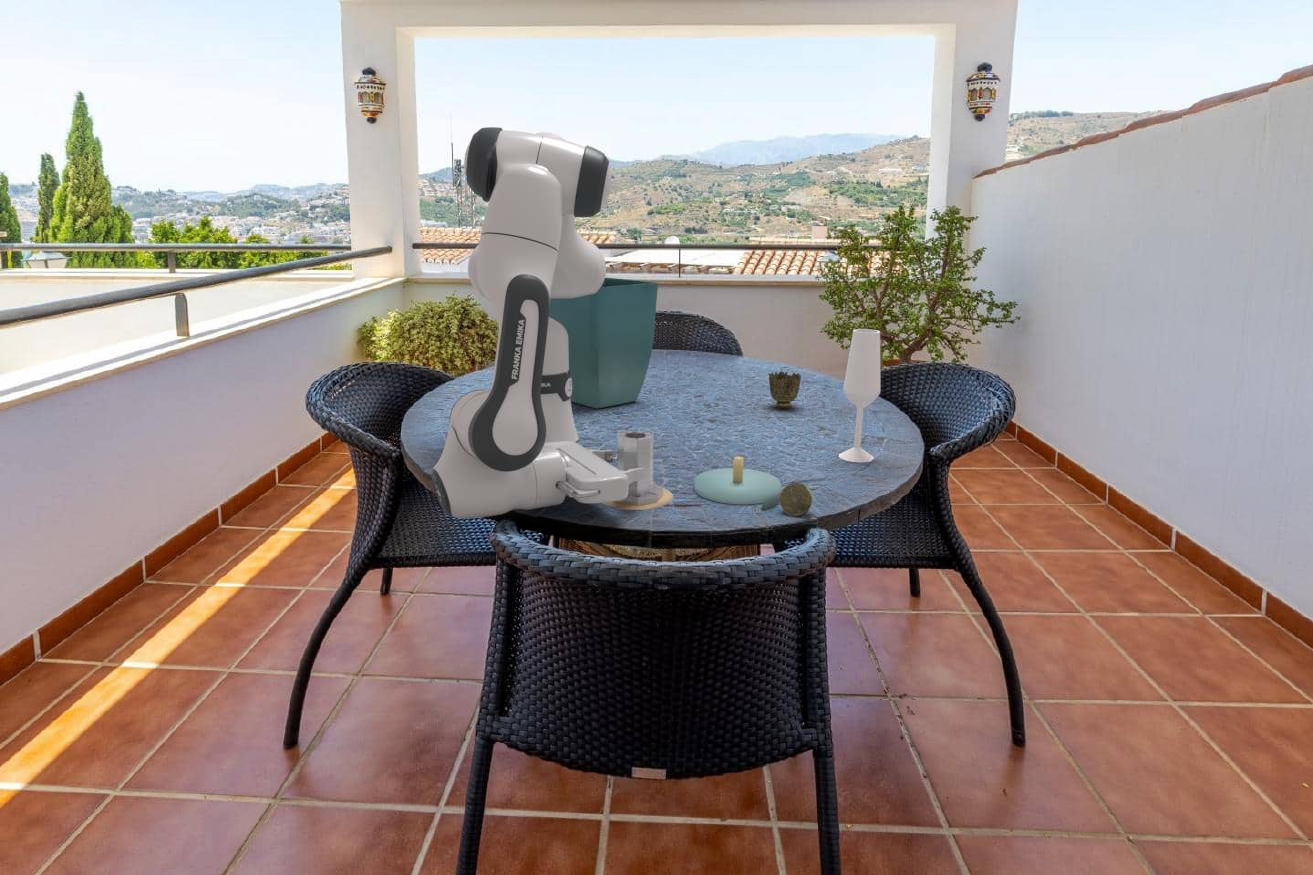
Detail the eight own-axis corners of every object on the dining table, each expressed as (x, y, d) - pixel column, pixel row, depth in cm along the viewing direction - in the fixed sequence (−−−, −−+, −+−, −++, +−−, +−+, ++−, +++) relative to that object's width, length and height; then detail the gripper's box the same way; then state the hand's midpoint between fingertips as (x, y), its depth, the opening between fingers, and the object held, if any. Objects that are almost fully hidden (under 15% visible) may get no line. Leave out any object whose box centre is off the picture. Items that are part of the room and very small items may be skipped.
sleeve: (602, 501, 129) (602, 440, 126) (618, 485, 136) (618, 426, 134) (653, 507, 127) (654, 444, 124) (666, 490, 134) (667, 430, 132)
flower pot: (541, 399, 199) (537, 280, 191) (605, 388, 212) (604, 276, 204) (592, 415, 185) (591, 287, 177) (658, 402, 198) (660, 282, 190)
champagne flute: (831, 453, 159) (840, 329, 152) (860, 450, 161) (870, 327, 155) (851, 464, 153) (862, 334, 146) (881, 460, 155) (893, 332, 149)
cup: (804, 406, 195) (806, 373, 193) (791, 413, 189) (793, 378, 187) (775, 402, 199) (777, 369, 197) (762, 408, 193) (763, 374, 191)
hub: (685, 506, 131) (686, 466, 129) (704, 478, 144) (705, 442, 142) (774, 515, 127) (776, 475, 125) (785, 486, 140) (787, 449, 138)
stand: (586, 512, 128) (586, 504, 127) (611, 487, 139) (611, 480, 139) (662, 520, 125) (662, 513, 124) (680, 494, 136) (680, 487, 136)
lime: (814, 518, 126) (816, 487, 125) (783, 519, 126) (785, 488, 125) (806, 507, 131) (808, 477, 129) (776, 508, 130) (778, 478, 129)
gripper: (572, 476, 113) (660, 463, 120) (521, 439, 131) (600, 428, 137) (573, 519, 115) (660, 503, 122) (522, 477, 132) (601, 465, 139)
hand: (628, 463), depth 129 cm, fingers open, 8 cm apart
